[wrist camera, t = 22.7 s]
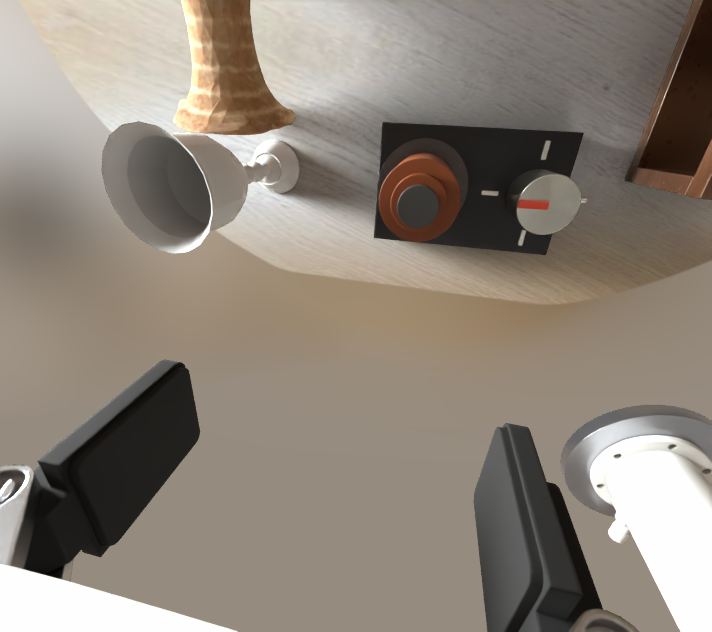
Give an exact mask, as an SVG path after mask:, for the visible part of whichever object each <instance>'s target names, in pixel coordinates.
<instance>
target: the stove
mask: <svg viewBox="0 0 712 632" xmlns="http://www.w3.org/2000/svg"><path fill="white" fill-rule="evenodd" d="M583 134H584V133H580V132H561V131H542V130H523V129H504V128H485V127H466V126H447V125H428V124H409V123H390V122H383V123H382V136H381V149H380V163H379V174H380V171H381V168H382V166H383V164H384V162H385V161H386V159H387V158H388V157H389V155H390V154H391V153H392V152H393V151H394V150H395V149H397V148H398V147H399V146H401V145H402V144H404V143H406V142H408V141H411V140H414V139H419V138H432V139H437V140H440V141H443V142H445V143H447V144H448V145H450V146H451V147H452V148H454V149H455V150H456V151H457V152H458V154H459V155H460V156H461V158H462V159H463V161H464V164H465V166H466V169H467V173H468V192H467V196H466V199H465V202H464V204H463V206H462V208H461V210H460V211H459V213H458V214H457V217H456V218H455V220H454V222H453V223H452V225H451V226H450V227H449V228H448V229H447V230H446V231H445V232H444V233H442V234H441V235H439V236H438V237H436V238H434V239H431V240H428V241H422V242H420V243H430V244H440V245H450V246H460V247H470V248H480V249H490V250H500V251H510V252H520V253H530V254H540V255H546V253H547V250H548V247H549V243H550V240H551V237H552V234H553V233H551V234H545V235H539V234H534V233H531V232H529V231H527V230H526V229H525V228H523V227H522V226H521V225H520V224H519V223H518V222H517V221H516V220H515V219H514V218H513V217H512V215H511V214H510V213H509V211H508V209H507V206H506V195H507V191H508V189H509V187H510V185H511V184H512V182H513V181H514V180H515V179H516V178H517V177H518V176H520V175H521V174H523V173H525V172H527V171H529V170H533V169H544V170H548V171H551V172H555V173H558V174H561V175H564V176H567V177H569V178H570V176H571V173H572V170H573V166H574V163H575V160H576V157H577V154H578V150H579V147H580V144H581V141H582V137H583ZM378 177H379V176H378ZM587 200H588V199H587V198H581V203H587ZM374 238H380V239H390V240H400V241H408V240H405V239H402V238H400V237H398V236H397V235H395V234H394V233H393V232H391V231H390V230H389V228H388V227H387V226H386V225H385V223H384V221H383V219H382V217H381V214H380V210H379V199H378V192H377V203H376V216H375V230H374ZM410 242H413V241H410Z"/></svg>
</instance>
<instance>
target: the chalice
mask: <svg viewBox="0 0 712 632" xmlns="http://www.w3.org/2000/svg"><path fill="white" fill-rule="evenodd" d="M299 168H300V167H299V163H298V159H297V157H296V155H295V153H294V151H293V150H292V149H291V148H290V147H289V146H288V145H287V144H285V143H283V142H282V141H278V140H268V141H265V142H263V143H262V144H260V145H259V147H258V148H257V149H256V151H255V154H254V156H253V159H252V161H251V162H249V163H248V164H246V163H243V164H241V162H240V161H239V160H238V159H237V158H236V157H235V155H234V154H233V153H232V152H231V151H230V150H228V149H227V148H225V147H224V146H222V145H221V144H219V143H218V142H216V141H214V140H213V139H211V138H210V137H208V136H205V135H201V134H197V133H168V132H166V131H165V130H163V129H162V128H160V127H158V126H156V125H152V124H147V123H143V122H139V121H138V122H133V123H128V124H123V125H121V126H120V127H119V128H117V129H116V130H115V131H114V132H113V133H112V134H110V135H109V137H108V140H107V142H106V145H105V147H104V149H103V154H102V175H103V179H104V184H105V189H106V192H107V194H108V196H109V198H110V200H111V203H112V205H113V207H114V209H115V211H116V212H117V214H118V215H119V216H120V218H121V219H122V221H123V222H124V223H125V225H126V226H127V227H128V228H129V229H130V230H131V231H132V232H133V233H134V234H135V235H136V236H137V237H138V238H139V239H141V240H142V241H144V242H145V243H147V244H149V245H150V246H152V247H154V248H156V249H158V250H162V251H166V252H170V253H182V252H188V251H190V250H192V249H194V248H195V247H197V246H199V245H200V244H201V243H202V241H203V240H204V238H205V237H206V235H207V234H208V233H209V232H211V231H213V230H216V229H218V228H220V227H222V226H224V225H226V224H228V223H230V222H231V221H233V220H234V219H235V217H236V216H237V214H238V213H239V211H240V210H241V208H242V206H243V204H244V202H245V199H246V195H247V190H248V184H250V183H252V182H253V181H254V182H259V183H260V184H261V185H262V186H263V187H264V188H266V189H267V190H269V191H271V192H275V193H284V192H287V191H289V190H290V189H292V188H293V186H294V185H295V184H296V183H297V180H298V177H299Z"/></svg>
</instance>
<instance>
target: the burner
mask: <svg viewBox="0 0 712 632" xmlns="http://www.w3.org/2000/svg"><path fill="white" fill-rule="evenodd" d="M417 153H431V154H435V155H437V156H439V157H440V158H442V159H443V160H444V161H445V162H446V163H447V164H448V166H449V167H450V169H451V170H452V172H453V174H454V176H455V177H456V179H457V182H458V184H459V188H460V193H461V202H460V208H459V211H460V210H461V208H462V206H463V204H464V202H465V199H466V196H467V192H468V173H467V169H466V166H465V164H464V161H463V159H462V158H461V156H460V155H459V154H458V152H457V151H456V150H455V149H454V148H452V147H451V146H450V145H448V144H447V143H445V142H443V141H440V140H437V139H432V138H419V139H414V140H411V141H408V142H406V143H404V144H402V145H401V146H399V147H398V148H397V149H395V150H394V151H393V152H392V153H391V154H390V155H389V157H388V158H387V159H386V161H385V162H384V164H383V166H382V168H381V171H380V174H379V177H378V184H377V192H378V199H379V195H380V190H381V187H382V185H383V182H384V181H385V179H386V177H387V176H388V175H389V173H390V172H391V171H392V170H393V169H394V168H395V167H396V166H397V165H398V164H400V163H401V162H402V161H403V160H404V159H406V158H407V157H409V156H411V155H413V154H417ZM459 211H458V213H459Z"/></svg>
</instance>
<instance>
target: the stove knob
mask: <svg viewBox="0 0 712 632" xmlns="http://www.w3.org/2000/svg"><path fill="white" fill-rule="evenodd" d="M580 204H581V194H580V190H579V188H578V186H577V184H576V183H575V182H574V181H573V180H572V179H570V178H569V177H567V176H564V175H561V174H558V173H555V172H551V171H548V170H544V169H533V170H529V171H527V172H525V173H523V174H521V175H520V176H518V177H517V178H516V179H515V180H514V181H513V182H512V184H511V185H510V187H509V189H508V191H507V195H506V206H507V209H508V211H509V213H510V214H511V215H512V217H513V218H514V219H515V220H516V221H517V222H518V223H519V224H520V225H521V226H522V227H523V228H525V229H526V230H527V231H529V232H531V233H534V234H539V235H545V234H551V233H554V232H557V231H559V230H561V229H563V228H564V227H566V226H567V225H568V224H569V223H570V222H571V221H572V220H573V219H574V217H575V216H576V214H577V212H578V210H579V208H580Z"/></svg>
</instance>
